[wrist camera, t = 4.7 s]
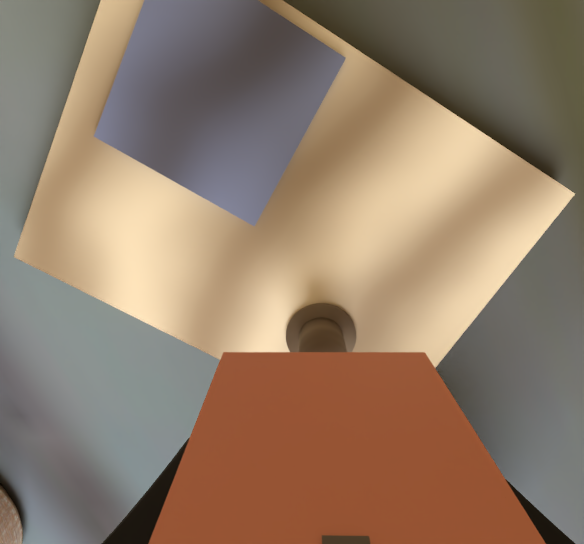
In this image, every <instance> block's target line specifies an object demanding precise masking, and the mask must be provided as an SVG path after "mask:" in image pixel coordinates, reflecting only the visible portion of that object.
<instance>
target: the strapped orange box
mask: <svg viewBox="0 0 584 544" xmlns="http://www.w3.org/2000/svg"><path fill="white" fill-rule="evenodd" d="M149 544H546V543H545V542H544V540H543V538H542V537H541V535H540V534H539V532H538V530H537V529H536V527H535V526H534V524H533V523H532V521H531V519H530V518H529V516H528V515H527V513H526V511H525V510H524V508H523V507H522V505H521V504H520V502H519V500H518V499H517V497H516V496H515V494H514V492H513V491H512V489H511V488H510V486H509V485H508V483H507V481H506V480H505V478H504V477H503V475H502V473H501V472H500V470H499V469H498V467H497V466H496V464H495V462H494V461H493V459H492V458H491V456H490V454H489V453H488V451H487V450H486V448H485V447H484V445H483V443H482V442H481V440H480V439H479V437H478V435H477V434H476V432H475V431H474V429H473V428H472V426H471V424H470V423H469V421H468V420H467V418H466V416H465V415H464V413H463V412H462V410H461V409H460V407H459V405H458V404H457V402H456V401H455V399H454V397H453V396H452V394H451V393H450V391H449V390H448V388H447V386H446V385H445V383H444V382H443V380H442V378H441V377H440V375H439V374H438V372H437V371H436V369H435V367H434V366H433V364H432V363H431V361H430V359H429V358H428V356H427V355H426V353H425V352H223V354H222V357H221V360H220V362H219V365H218V367H217V370H216V372H215V375H214V377H213V380H212V383H211V385H210V388H209V390H208V393H207V395H206V398H205V400H204V403H203V406H202V408H201V411H200V413H199V416H198V418H197V421H196V423H195V426H194V429H193V431H192V434H191V436H190V439H189V441H188V444H187V446H186V449H185V452H184V454H183V457H182V459H181V462H180V464H179V467H178V469H177V472H176V475H175V477H174V480H173V482H172V485H171V487H170V490H169V493H168V495H167V498H166V500H165V503H164V505H163V508H162V510H161V513H160V516H159V518H158V521H157V523H156V526H155V528H154V531H153V533H152V536H151V539H150V541H149Z"/></svg>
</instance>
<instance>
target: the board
mask: <svg viewBox="0 0 584 544" xmlns="http://www.w3.org/2000/svg"><path fill="white" fill-rule="evenodd" d="M574 195H575V193H573V192H572V191H570V190H569V189H567V188H566V187H564V186H563V185H561V184H560V183H558V182H557V181H555V180H554V179H552V178H551V177H549V176H548V175H546V174H544V173H543V172H541V171H540V170H538V169H537V168H535V167H534V166H532V165H531V164H529V163H528V162H526V161H525V160H523V159H522V158H520V157H519V156H517V155H516V154H514V153H513V152H511V151H510V150H508V149H507V148H505V147H504V146H502V145H501V144H499V143H498V142H496V141H495V140H493V139H492V138H490V137H489V136H487V135H486V134H484V133H482V132H481V131H479V130H478V129H476V128H475V127H473V126H472V125H470V124H469V123H467V122H466V121H464V120H463V119H461V118H460V117H458V116H457V115H455V114H454V113H452V112H451V111H449V110H448V109H446V108H445V107H443V106H442V105H440V104H439V103H437V102H436V101H434V100H433V99H431V98H430V97H428V96H427V95H425V94H424V93H422V92H421V91H419V90H417V89H416V88H414V87H413V86H411V85H410V84H408V83H407V82H405V81H404V80H402V79H401V78H399V77H398V76H396V75H395V74H393V73H392V72H390V71H389V70H387V69H386V68H384V67H383V66H381V65H380V64H378V63H377V62H375V61H374V60H372V59H371V58H369V57H368V56H366V55H365V54H363V53H362V52H360V51H359V50H357V49H355V48H354V47H352V46H351V45H349V44H348V43H346V42H345V41H343V40H342V39H340V38H339V37H337V36H336V35H334V34H333V33H331V32H330V31H328V30H327V29H325V28H324V27H322V26H321V25H319V24H318V23H316V22H315V21H313V20H312V19H310V18H309V17H307V16H306V15H304V14H303V13H301V12H300V11H298V10H297V9H295V8H293V7H292V6H290V5H289V4H287V3H286V2H284V1H283V0H101V1H100V4H99V7H98V10H97V13H96V16H95V19H94V22H93V25H92V28H91V31H90V34H89V37H88V40H87V43H86V45H85V48H84V51H83V54H82V57H81V60H80V63H79V66H78V69H77V72H76V75H75V78H74V81H73V84H72V87H71V90H70V93H69V95H68V98H67V101H66V104H65V107H64V110H63V113H62V116H61V119H60V122H59V125H58V128H57V131H56V134H55V137H54V140H53V143H52V146H51V148H50V151H49V154H48V157H47V160H46V163H45V166H44V169H43V172H42V175H41V178H40V181H39V184H38V187H37V190H36V193H35V196H34V199H33V201H32V204H31V207H30V210H29V213H28V216H27V219H26V222H25V225H24V228H23V231H22V234H21V237H20V240H19V243H18V246H17V249H16V252H15V254H14V257H15V258H17V259H19V260H21V261H23V262H25V263H27V264H29V265H31V266H33V267H35V268H37V269H39V270H41V271H43V272H45V273H47V274H49V275H51V276H53V277H55V278H57V279H59V280H61V281H63V282H65V283H67V284H69V285H71V286H73V287H75V288H77V289H79V290H81V291H83V292H85V293H87V294H89V295H91V296H93V297H95V298H97V299H99V300H101V301H103V302H105V303H107V304H109V305H111V306H113V307H115V308H117V309H119V310H121V311H123V312H125V313H127V314H129V315H131V316H133V317H135V318H137V319H139V320H141V321H143V322H145V323H147V324H149V325H151V326H153V327H155V328H157V329H159V330H162V331H164V332H166V333H168V334H170V335H172V336H174V337H176V338H178V339H180V340H182V341H184V342H186V343H188V344H190V345H192V346H194V347H196V348H198V349H200V350H202V351H204V352H206V353H208V354H210V355H212V356H214V357H216V358H218V359H220V360H221V357H222V354H223V352H425V353H426V355H427V356H428V358H429V359H430V361H431V363H432V364H433V366H434V367H435V368H436V366H437V365H438V364H439V363H440V361H441V360H442V359H443V358H444V356H445V355H446V354H447V353H448V351H449V350H450V349H451V348H452V346H453V345H454V344H455V343H456V341H457V340H458V339H459V338H460V336H461V335H462V334H463V333H464V331H465V330H466V329H467V328H468V327H469V325H470V324H471V323H472V322H473V320H474V319H475V318H476V317H477V315H478V314H479V313H480V312H481V310H482V309H483V308H484V307H485V305H486V304H487V303H488V302H489V300H490V299H491V298H492V297H493V295H494V294H495V293H496V292H497V290H498V289H499V288H500V287H501V285H502V284H503V283H504V282H505V280H506V279H507V278H508V277H509V276H510V274H511V273H512V272H513V271H514V269H515V268H516V267H517V266H518V264H519V263H520V262H521V261H522V259H523V258H524V257H525V256H526V254H527V253H528V252H529V251H530V249H531V248H532V247H533V246H534V244H535V243H536V242H537V241H538V239H539V238H540V237H541V236H542V234H543V233H544V232H545V231H546V230H547V228H548V227H549V226H550V225H551V223H552V222H553V221H554V220H555V218H556V217H557V216H558V215H559V213H560V212H561V211H562V210H563V208H564V207H565V206H566V205H567V203H568V202H569V201H570V200H571V198H572V197H573V196H574Z"/></svg>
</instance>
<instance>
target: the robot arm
mask: <svg viewBox="0 0 584 544" xmlns="http://www.w3.org/2000/svg"><path fill="white" fill-rule="evenodd" d="M189 439H190V438H189ZM189 439H188V440H187V441H186V442H185V444H184V445H183V446H182V448H181V449H180V450H179V452H178V453H177V454H176V455H175V457H174V458H173V459H172V461H171V462H170V463H169V464H168V466H167V467H166V468H165V470H164V471H163V472H162V473H161V475H160V476H159V477H158V478H157V480H156V481H155V482H154V483H153V485H152V486H151V487H150V488H149V490H148V491H147V492H146V493H145V494H144V496H143V497H142V498H141V499H140V500H139V501H138V503H137V504H136V505H135V506H134V507H133V509H132V510H131V511H130V512H129V513H128V515H127V516H126V517H125V518H124V519H123V521H122V522H121V523H120V524H119V525H118V526H117V527H116V529H115V530H114V531H113V532H112V533H111V534H110V535H109V536H108V537H107V538H106V540H105V541H104V542H103V543H102V544H149V541H150V539H151V536H152V533H153V531H154V528H155V526H156V523H157V521H158V518H159V516H160V513H161V510H162V508H163V505H164V503H165V500H166V498H167V495H168V493H169V490H170V487H171V485H172V482H173V480H174V477H175V475H176V472H177V469H178V467H179V464H180V462H181V459H182V457H183V454H184V452H185V449H186V446H187V444H188V441H189ZM505 480H506V479H505ZM506 481H507V480H506ZM507 483H508V485H509V486H510V488H511V489H512V491H513V492H514V494H515V496H516V497H517V499H518V500H519V502H520V504H521V505H522V507H523V508H524V510H525V511H526V513H527V515H528V516H529V518H530V519H531V521H532V523H533V524H534V526H535V527H536V529H537V530H538V532H539V534H540V535H541V537H542V538H543V540H544V542H545V543H546V544H575V543H574V542H573V541H572V540H570V539H569V538H568V537H567V536H566V535H565V534H564V533H563V532H562V531H560V530H559V529H558V528H557V527H556V526H555V525H554V524H553V523H552V522H551V521H549V520H548V519H547V518H546V517H545V516H544V515H543V514H542V513H541V512H540V511H539V510H538V509H536V508H535V507H534V506H533V505H532V504H531V503H530V502H529V501H528V500H527V499H526V498H525V497H524V496H523V495H522V494H521V493H519V492H518V491H517V490H516V489H515V488H514V487H513V486H512V485H511V484H510V483H509V482H508V481H507Z"/></svg>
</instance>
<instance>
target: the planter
mask: <svg viewBox="0 0 584 544" xmlns="http://www.w3.org/2000/svg"><path fill="white" fill-rule="evenodd" d="M22 541H23V528H22V523H21V520H20V516H19V513H18V510H17V508H16V506H15V505H14V503H13V501H12V500H11V498H10V497H9V495H8V494H7V492H6V491H5V489H4V488H3V487H2V486H1V485H0V544H22Z"/></svg>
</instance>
